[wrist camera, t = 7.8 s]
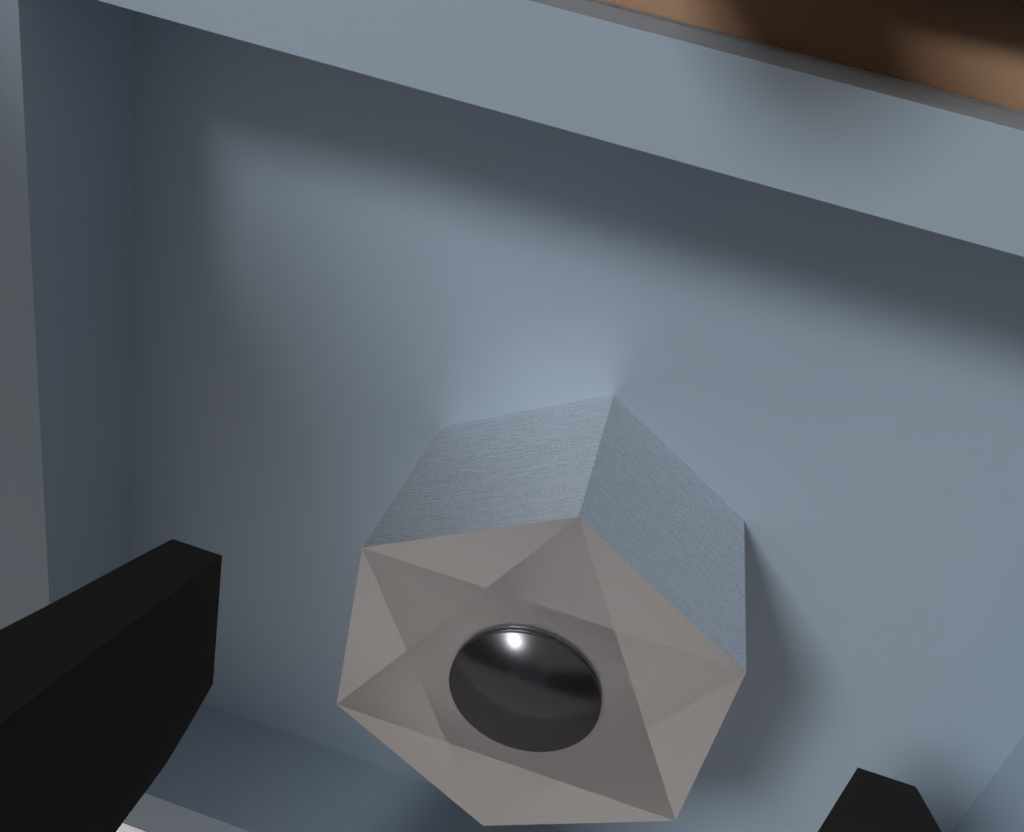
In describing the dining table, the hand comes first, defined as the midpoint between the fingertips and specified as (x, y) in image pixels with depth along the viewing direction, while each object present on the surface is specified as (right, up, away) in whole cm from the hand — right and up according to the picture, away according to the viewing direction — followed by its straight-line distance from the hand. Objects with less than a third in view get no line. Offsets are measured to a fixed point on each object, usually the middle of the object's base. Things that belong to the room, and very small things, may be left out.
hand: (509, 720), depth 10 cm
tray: (+1, +2, +4) cm, 4 cm away
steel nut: (+1, +1, +3) cm, 4 cm away
